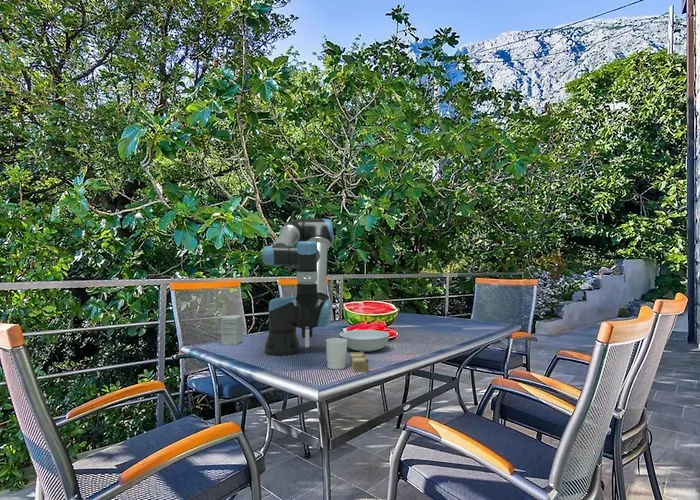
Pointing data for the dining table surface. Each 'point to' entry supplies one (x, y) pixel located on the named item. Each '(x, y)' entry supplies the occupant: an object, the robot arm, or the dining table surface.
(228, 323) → the supplement box
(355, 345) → the serving bowl
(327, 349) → the white cup
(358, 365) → the brass metal channel
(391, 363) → the dining table surface
